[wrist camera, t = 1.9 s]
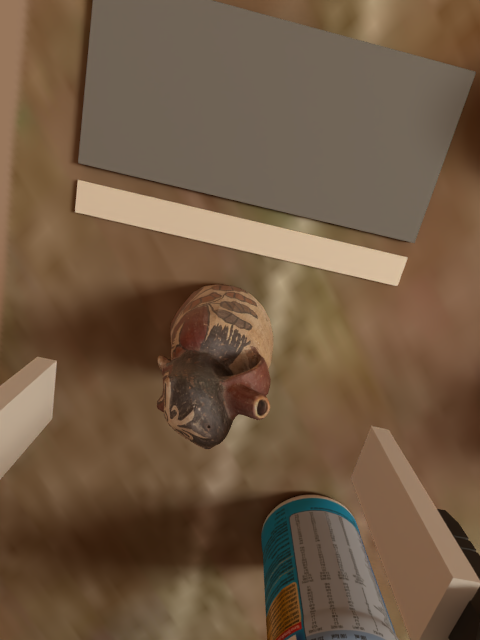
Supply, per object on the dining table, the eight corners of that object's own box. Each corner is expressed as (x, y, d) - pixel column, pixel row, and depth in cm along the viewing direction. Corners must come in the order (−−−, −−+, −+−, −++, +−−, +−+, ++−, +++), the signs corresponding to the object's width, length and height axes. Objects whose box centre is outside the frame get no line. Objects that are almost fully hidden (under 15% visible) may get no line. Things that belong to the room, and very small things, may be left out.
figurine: (162, 291, 27) (102, 361, 15) (263, 274, 26) (280, 333, 15) (184, 382, 29) (146, 504, 17) (277, 368, 28) (302, 483, 17)
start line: (395, 285, 26) (397, 286, 26) (76, 211, 25) (74, 212, 25) (405, 257, 26) (407, 257, 25) (79, 180, 24) (77, 179, 24)
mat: (411, 242, 25) (414, 243, 25) (81, 163, 24) (78, 163, 24) (471, 74, 22) (476, 71, 22) (99, -26, 21) (95, -31, 21)
